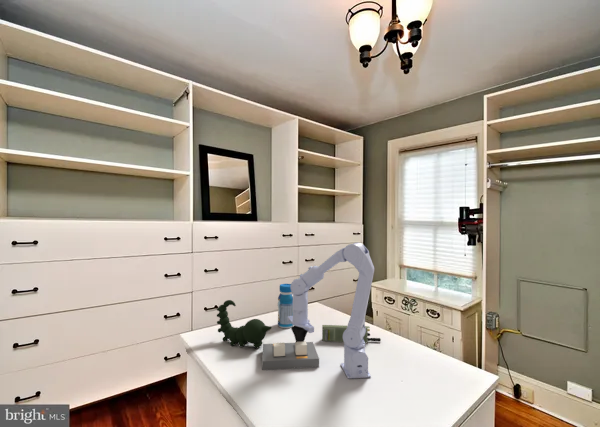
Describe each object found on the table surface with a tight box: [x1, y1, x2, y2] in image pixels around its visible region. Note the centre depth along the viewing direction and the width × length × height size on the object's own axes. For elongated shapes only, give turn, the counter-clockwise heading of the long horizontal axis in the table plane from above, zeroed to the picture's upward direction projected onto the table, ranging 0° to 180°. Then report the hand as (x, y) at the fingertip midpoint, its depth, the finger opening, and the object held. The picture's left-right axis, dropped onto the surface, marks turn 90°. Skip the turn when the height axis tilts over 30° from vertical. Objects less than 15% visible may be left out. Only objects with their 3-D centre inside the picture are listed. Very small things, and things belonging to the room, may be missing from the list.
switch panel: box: [261, 341, 320, 371], centre depth 106 cm, size 14×20×3 cm
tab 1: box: [273, 342, 286, 356], centre depth 103 cm, size 3×4×4 cm
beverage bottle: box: [277, 283, 294, 329], centre depth 140 cm, size 8×8×20 cm
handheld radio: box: [321, 324, 382, 343], centre depth 123 cm, size 7×3×25 cm
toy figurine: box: [216, 299, 272, 349], centre depth 118 cm, size 9×19×25 cm
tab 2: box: [294, 340, 307, 355], centre depth 104 cm, size 3×4×4 cm
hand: (299, 345), depth 107 cm, fingers closed
